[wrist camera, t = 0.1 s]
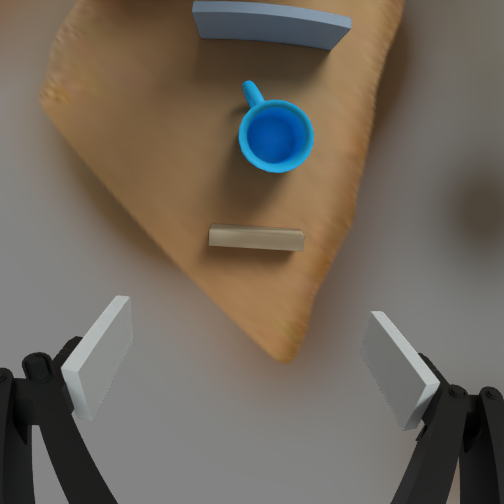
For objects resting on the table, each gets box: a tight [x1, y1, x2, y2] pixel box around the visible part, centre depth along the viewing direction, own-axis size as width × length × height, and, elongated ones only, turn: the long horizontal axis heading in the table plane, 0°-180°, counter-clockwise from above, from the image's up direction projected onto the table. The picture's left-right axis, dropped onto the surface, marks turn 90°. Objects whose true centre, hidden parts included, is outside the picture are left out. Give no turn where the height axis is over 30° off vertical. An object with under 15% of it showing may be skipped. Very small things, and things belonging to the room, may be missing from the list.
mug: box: [239, 80, 314, 173], centre depth 35 cm, size 12×8×8 cm
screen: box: [192, 1, 351, 51], centre depth 31 cm, size 4×18×9 cm, turn 86°
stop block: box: [209, 223, 305, 251], centre depth 41 cm, size 2×12×4 cm, turn 85°
